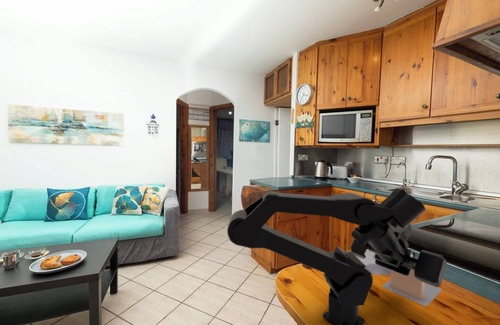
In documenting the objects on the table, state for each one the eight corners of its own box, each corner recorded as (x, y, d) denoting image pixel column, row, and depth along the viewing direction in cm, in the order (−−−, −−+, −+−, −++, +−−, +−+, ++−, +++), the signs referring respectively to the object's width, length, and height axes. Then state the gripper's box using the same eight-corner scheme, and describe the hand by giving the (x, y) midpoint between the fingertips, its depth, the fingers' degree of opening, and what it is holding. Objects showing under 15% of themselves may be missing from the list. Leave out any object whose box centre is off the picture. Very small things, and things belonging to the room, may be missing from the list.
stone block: (365, 281, 67) (401, 277, 65) (361, 265, 67) (397, 261, 65) (354, 263, 78) (385, 260, 77) (351, 250, 79) (382, 246, 77)
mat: (426, 307, 52) (426, 306, 52) (381, 287, 61) (381, 286, 61) (442, 290, 59) (442, 289, 59) (399, 274, 67) (399, 273, 67)
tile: (421, 300, 54) (421, 268, 54) (390, 286, 60) (390, 257, 60) (424, 297, 56) (425, 265, 55) (394, 283, 61) (394, 255, 61)
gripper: (444, 218, 45) (460, 257, 51) (356, 202, 60) (377, 233, 67) (428, 268, 41) (448, 303, 47) (338, 237, 56) (362, 267, 63)
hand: (403, 271), depth 56 cm, fingers closed
